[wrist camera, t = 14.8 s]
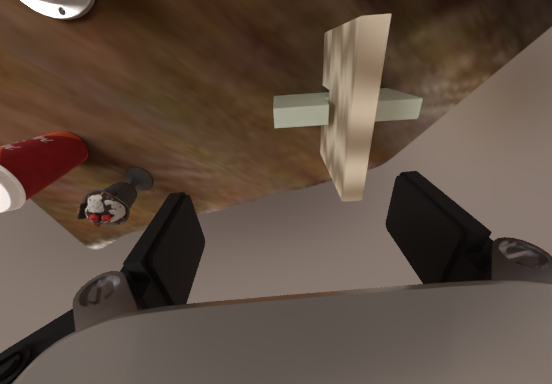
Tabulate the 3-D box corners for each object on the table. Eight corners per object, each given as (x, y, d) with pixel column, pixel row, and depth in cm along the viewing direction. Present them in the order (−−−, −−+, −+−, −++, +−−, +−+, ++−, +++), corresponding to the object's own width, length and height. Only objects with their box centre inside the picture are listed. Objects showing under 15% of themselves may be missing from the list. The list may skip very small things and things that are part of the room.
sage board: (273, 95, 36) (273, 108, 28) (387, 87, 36) (423, 98, 27) (274, 111, 38) (274, 128, 29) (384, 103, 37) (417, 118, 28)
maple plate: (324, 32, 32) (361, 15, 18) (341, 31, 32) (391, 13, 18) (320, 152, 41) (342, 201, 28) (333, 152, 41) (362, 200, 28)
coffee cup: (56, 113, 38) (-57, 144, 25) (103, 149, 41) (25, 192, 28) (36, 145, 40) (-75, 187, 28) (82, 176, 44) (2, 227, 31)
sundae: (163, 177, 44) (117, 227, 31) (148, 199, 46) (99, 254, 34) (130, 155, 42) (65, 201, 29) (116, 180, 44) (50, 231, 31)
